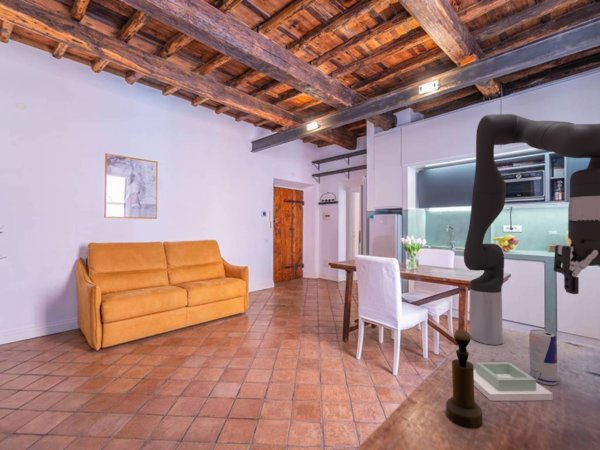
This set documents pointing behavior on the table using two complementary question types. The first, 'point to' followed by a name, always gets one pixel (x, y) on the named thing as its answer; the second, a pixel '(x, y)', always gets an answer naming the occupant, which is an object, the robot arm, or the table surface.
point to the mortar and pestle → (463, 387)
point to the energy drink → (543, 356)
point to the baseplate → (507, 383)
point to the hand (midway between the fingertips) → (591, 292)
